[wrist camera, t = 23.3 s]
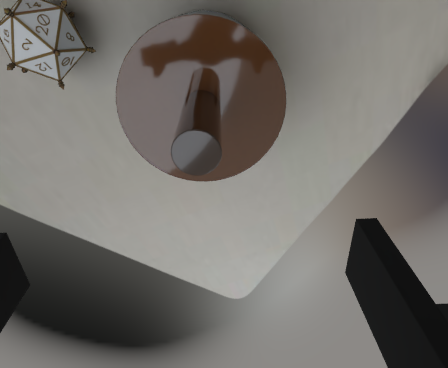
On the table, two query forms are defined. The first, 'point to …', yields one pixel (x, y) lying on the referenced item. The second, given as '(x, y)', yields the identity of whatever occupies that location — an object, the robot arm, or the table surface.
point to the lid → (201, 97)
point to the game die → (41, 38)
